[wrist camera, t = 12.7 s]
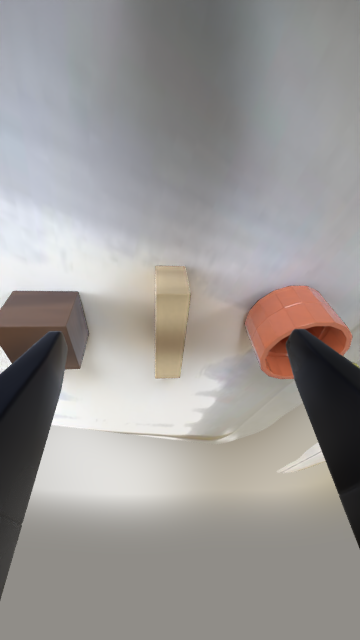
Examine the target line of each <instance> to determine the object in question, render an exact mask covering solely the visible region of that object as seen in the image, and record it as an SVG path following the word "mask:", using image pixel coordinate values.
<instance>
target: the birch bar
mask: <svg viewBox="0 0 360 640" xmlns="http://www.w3.org/2000/svg"><path fill="white" fill-rule="evenodd" d="M190 297H191V292H190V287H189V282H188V277H187V272H186V267H185V266H155V378H156V379H159V378H180V374H181V366H182V358H183V351H184V343H185V336H186V328H187V320H188V313H189V305H190Z"/></svg>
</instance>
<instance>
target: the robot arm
mask: <svg viewBox="0 0 360 640" xmlns="http://www.w3.org/2000/svg"><path fill="white" fill-rule="evenodd" d="M286 350H287V354H288V358H289V361H290V365H291V369H292V373H293V376H294V380H295V383H296V385H297V388H298V391H299V393H300V396H301V398H302V401H303V404H304V406H305V409H306V411H307V414H308V416H309V419H310V422H311V424H312V427H313V429H314V432H315V434H316V437H317V440H318V442H319V445H320V447H321V450H322V453H323V455H324V458H325V460H326V463H327V465H328V468H329V471H330V473H331V476H332V478H333V481H334V483H335V486H336V489H337V491H338V494H339V497H340V499H341V502H342V505H343V507H344V510H345V512H346V515H347V517H348V520H349V523H350V525H351V528H352V530H353V533H354V535H355V538H356V540H357V543H358V545H359V548H360V368H359V367H357V366H356V365H355V364H353V363H352V362H350V361H349V360H348V359H346V358H345V357H343V356H342V355H341V354H339V353H338V352H336V351H335V350H334V349H332V348H331V347H329V346H328V345H327V344H325V343H324V342H322V341H321V340H319V339H318V338H317V337H315V336H314V335H312V334H311V333H310V332H308V331H307V330H305V329H294V330H293V331H292V333H291V334H290V336H289V338H288V340H287V342H286ZM67 351H68V348H67V344H66V341H65V338H64V335H63V333H62V332H61V331H49V332H48V333H46V334H45V335H44V336H43V337H42V338H41V339H40V340H39V341H37V342H36V343H35V344H34V345H33V346H32V347H31V348H29V349H28V350H27V351H26V352H25V353H24V354H23V355H22V356H20V357H19V358H18V359H17V360H16V361H15V362H14V363H12V364H11V365H10V366H9V367H8V368H7V369H6V370H5V371H3V372H2V373H1V374H0V599H1V595H2V592H3V589H4V585H5V582H6V578H7V575H8V571H9V568H10V565H11V561H12V558H13V554H14V551H15V547H16V544H17V541H18V537H19V534H20V530H21V527H22V525H21V524H22V522H23V519H24V516H25V512H26V509H27V506H28V502H29V499H30V495H31V492H32V488H33V485H34V482H35V478H36V474H37V471H38V468H39V464H40V461H41V457H42V454H43V451H44V447H45V444H46V440H47V437H48V433H49V430H50V427H51V423H52V420H53V416H54V413H55V410H56V406H57V403H58V399H59V396H60V392H61V388H62V383H63V376H64V370H65V364H66V358H67Z"/></svg>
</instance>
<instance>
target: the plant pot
mask: <svg viewBox="0 0 360 640" xmlns="http://www.w3.org/2000/svg"><path fill="white" fill-rule="evenodd" d="M245 327H246V332H247V334H248V337H249V340H250V342H251V345H252V347H253V350H254V352H255V355H256V357H257V360H258V363H259V365H260V368H261V370H262V371H263V372H265V373H266V374H267V375H268V376H270V377H274V378H278V379H294V376H293V373H292V369H291V365H290V361H289V358H288V354H287V350H286V342H287V340H288V338H289V336H290V334H291V333H292V331H293V330H294V329H305V330H307V331H308V332H310V333H311V334H312V335H314V336H315V337H317V338H318V339H319V340H321V341H322V342H324V343H325V344H327V345H328V346H329V347H331V348H332V349H334V350H335V351H336V352H338V353H339V354H341V355H342V356H343V355H344V354H345V353H346V351H347V350H348V349H349V347H350V345H351V341H352V334H351V332H350V331H349V329H348V327H347V326H346V325H345V323H344V322H343V321H342V320H341V318H340V317H339V316H338V315H337V314H336V312H335V311H334V310H333V309H332V308H331V306H330V305H329V304H328V303H327V302H326V300H325V299H324V298H323V297H322V295H321V294H320V293H319V292H318V291H316V290H314V289H312V288H310V287H308V286H288V287H285V288H281V289H278V290H275V291H273V292H271V293H269V294H268V295H266V296H265V297H263V298H261V299H260V300H258V301H257V303H256V304H255V305H254V306H253V307H252V308H251V309H250V311H249V312H248V315H247V318H246V321H245Z"/></svg>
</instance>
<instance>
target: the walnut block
mask: <svg viewBox="0 0 360 640" xmlns="http://www.w3.org/2000/svg"><path fill="white" fill-rule="evenodd" d="M49 331H61V332H62V333H63V335H64V338H65V341H66V344H67V348H68V351H67V358H66V364H65V369H80V368H81V364H82V360H83V356H84V352H85V348H86V344H87V340H88V336H89V331H88V328H87V324H86V320H85V316H84V312H83V308H82V304H81V300H80V297H79V293H78V292H69V291H13V292H12V293H11V295H10V296H9V298H8V299H7V301H6V302H5V304H4V305H3V307H2V308H1V309H0V346H1V347H2V349H3V350H4V352H5V353H6V355H7V357H8V358H9V360H10V361H11V363H14V362H15V361H16V360H17V359H18V358H19V357H20V356H22V355H23V354H24V353H25V352H26V351H27V350H28V349H29V348H31V347H32V346H33V345H34V344H35V343H36V342H37V341H39V340H40V339H41V338H42V337H43V336H44V335H45V334H46V333H48V332H49Z"/></svg>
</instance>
